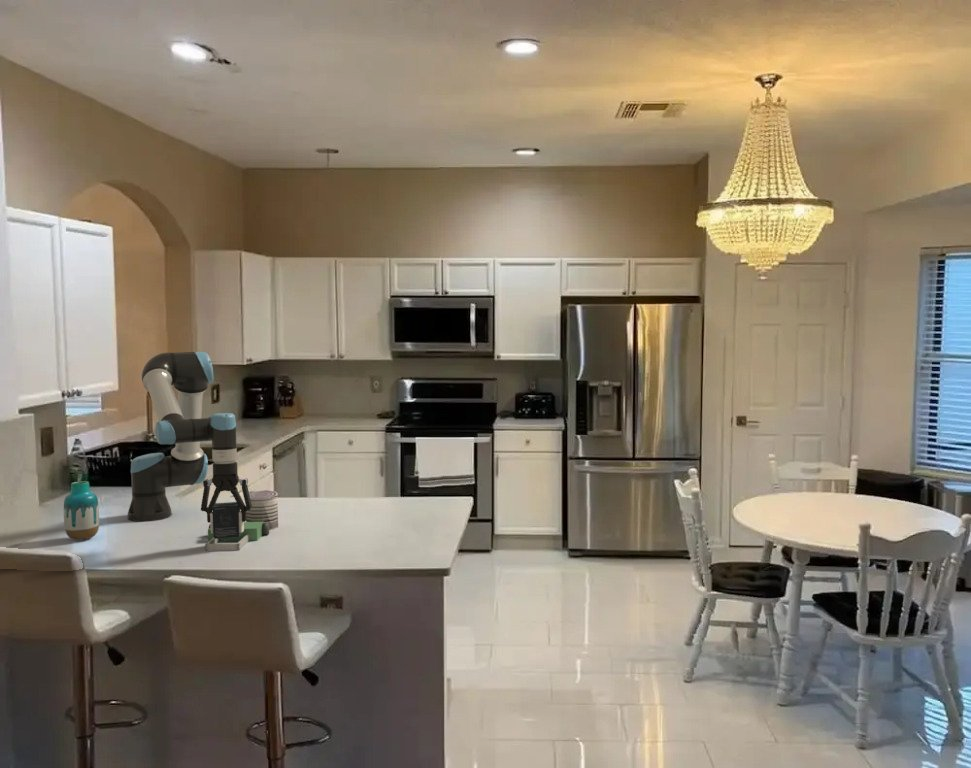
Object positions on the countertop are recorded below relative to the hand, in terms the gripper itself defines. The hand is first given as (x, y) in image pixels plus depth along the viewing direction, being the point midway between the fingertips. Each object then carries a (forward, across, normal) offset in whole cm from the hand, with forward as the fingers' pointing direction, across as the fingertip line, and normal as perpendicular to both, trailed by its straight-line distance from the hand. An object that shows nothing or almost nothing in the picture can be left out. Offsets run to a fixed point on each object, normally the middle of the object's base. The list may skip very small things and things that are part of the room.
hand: (227, 532), depth 268 cm
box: (+2, 0, 0) cm, 2 cm away
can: (+5, +5, +24) cm, 25 cm away
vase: (+5, -52, +13) cm, 54 cm away
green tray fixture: (+4, 0, +5) cm, 6 cm away
